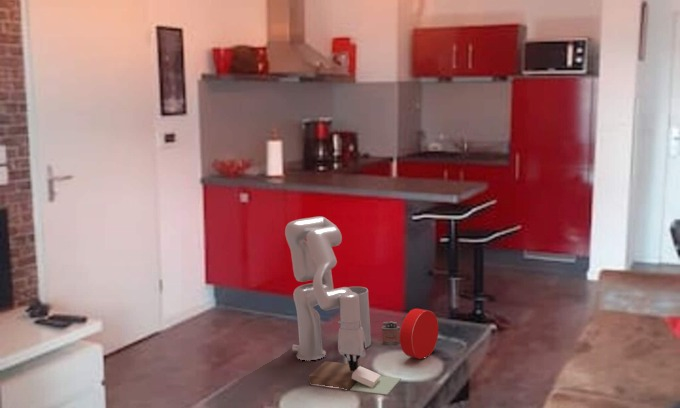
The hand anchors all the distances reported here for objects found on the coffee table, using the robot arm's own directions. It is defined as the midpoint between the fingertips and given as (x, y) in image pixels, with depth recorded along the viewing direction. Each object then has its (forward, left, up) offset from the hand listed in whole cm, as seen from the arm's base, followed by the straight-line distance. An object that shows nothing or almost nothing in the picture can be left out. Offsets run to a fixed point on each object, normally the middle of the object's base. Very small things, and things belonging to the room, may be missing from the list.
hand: (353, 369), depth 284 cm
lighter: (-1, +43, -5) cm, 43 cm away
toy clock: (+16, +32, -5) cm, 36 cm away
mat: (+9, 0, -5) cm, 10 cm away
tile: (+5, 0, -2) cm, 6 cm away
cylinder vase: (-15, +37, -5) cm, 40 cm away
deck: (-8, 0, -5) cm, 9 cm away
